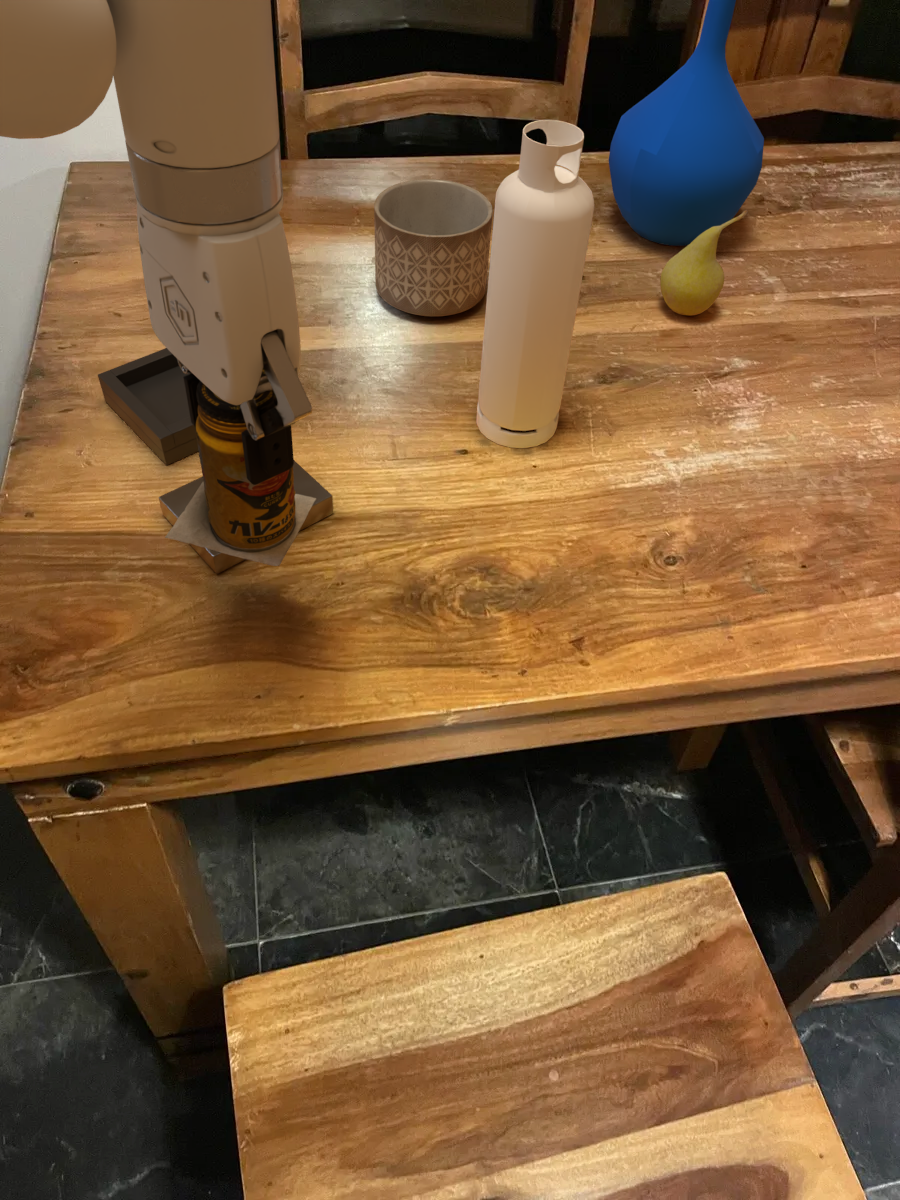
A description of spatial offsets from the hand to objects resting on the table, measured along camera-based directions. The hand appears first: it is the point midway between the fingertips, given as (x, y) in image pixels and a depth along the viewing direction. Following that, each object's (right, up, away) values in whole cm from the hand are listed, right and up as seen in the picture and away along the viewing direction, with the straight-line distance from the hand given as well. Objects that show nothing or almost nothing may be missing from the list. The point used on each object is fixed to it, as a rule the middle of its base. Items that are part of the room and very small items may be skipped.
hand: (242, 444), depth 61 cm
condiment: (-1, -5, +6) cm, 8 cm away
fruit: (+41, +23, +47) cm, 67 cm away
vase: (+42, +38, +59) cm, 82 cm away
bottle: (+20, +7, +32) cm, 39 cm away
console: (-4, -3, +22) cm, 22 cm away
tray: (-12, +9, +31) cm, 34 cm away
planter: (+11, +25, +46) cm, 54 cm away
